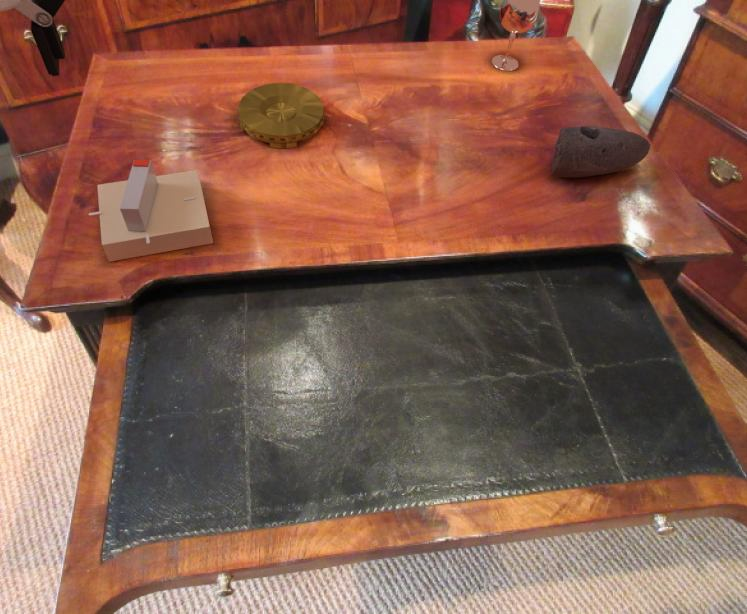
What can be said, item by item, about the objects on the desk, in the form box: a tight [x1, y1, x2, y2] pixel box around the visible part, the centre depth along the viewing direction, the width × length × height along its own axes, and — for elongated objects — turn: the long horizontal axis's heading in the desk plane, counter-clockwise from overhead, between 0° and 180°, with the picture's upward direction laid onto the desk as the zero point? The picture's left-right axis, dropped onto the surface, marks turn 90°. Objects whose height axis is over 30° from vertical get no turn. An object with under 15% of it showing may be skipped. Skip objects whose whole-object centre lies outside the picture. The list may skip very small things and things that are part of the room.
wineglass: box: [491, 0, 541, 72], centre depth 95 cm, size 6×6×12 cm
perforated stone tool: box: [551, 125, 651, 179], centre depth 83 cm, size 15×5×7 cm, turn 98°
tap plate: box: [88, 169, 214, 262], centre depth 73 cm, size 13×12×3 cm
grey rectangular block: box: [120, 158, 158, 231], centre depth 70 cm, size 8×2×4 cm, turn 2°
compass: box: [237, 82, 325, 149], centre depth 86 cm, size 12×12×2 cm
